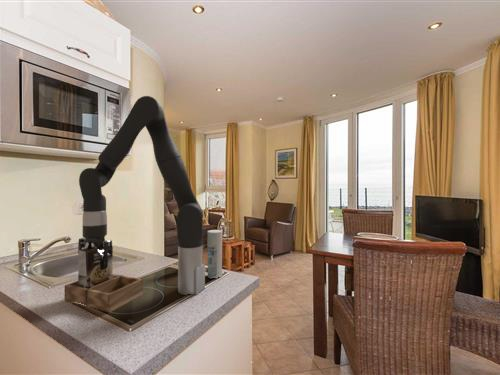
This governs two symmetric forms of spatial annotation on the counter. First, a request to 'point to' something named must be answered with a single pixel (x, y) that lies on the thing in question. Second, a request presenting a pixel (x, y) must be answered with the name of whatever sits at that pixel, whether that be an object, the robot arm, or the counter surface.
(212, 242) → the spray can
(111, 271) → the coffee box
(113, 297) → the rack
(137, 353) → the counter surface
